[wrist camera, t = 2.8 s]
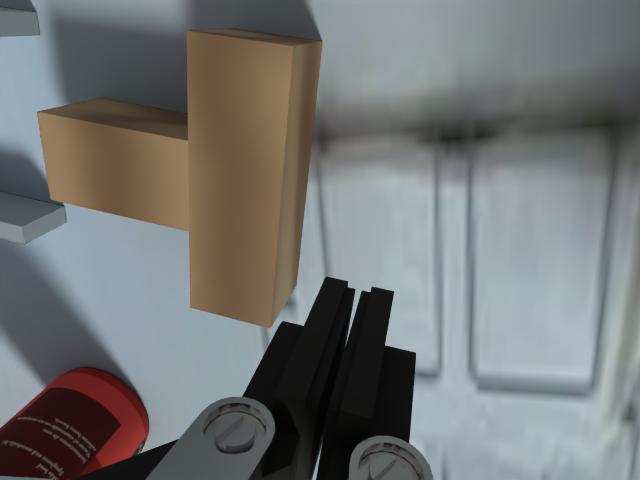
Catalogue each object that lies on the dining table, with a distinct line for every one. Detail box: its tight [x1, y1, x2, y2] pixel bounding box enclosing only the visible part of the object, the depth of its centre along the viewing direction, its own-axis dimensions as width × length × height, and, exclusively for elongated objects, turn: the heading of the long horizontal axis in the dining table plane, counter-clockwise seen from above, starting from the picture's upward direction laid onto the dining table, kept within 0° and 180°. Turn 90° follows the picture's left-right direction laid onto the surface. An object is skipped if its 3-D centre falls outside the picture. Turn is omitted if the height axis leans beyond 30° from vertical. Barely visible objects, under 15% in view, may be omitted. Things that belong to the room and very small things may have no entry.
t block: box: [37, 29, 322, 328], centre depth 21 cm, size 11×12×4 cm
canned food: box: [0, 368, 149, 480], centre depth 29 cm, size 8×8×11 cm
